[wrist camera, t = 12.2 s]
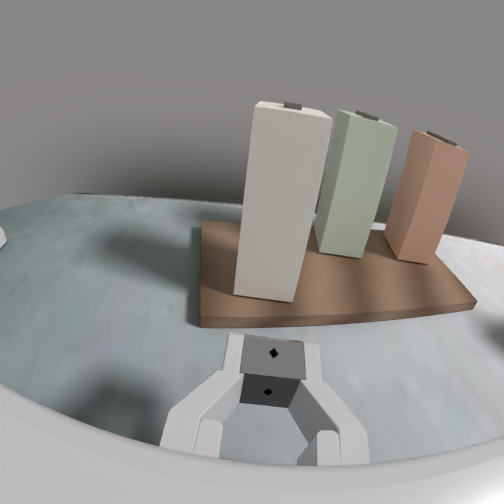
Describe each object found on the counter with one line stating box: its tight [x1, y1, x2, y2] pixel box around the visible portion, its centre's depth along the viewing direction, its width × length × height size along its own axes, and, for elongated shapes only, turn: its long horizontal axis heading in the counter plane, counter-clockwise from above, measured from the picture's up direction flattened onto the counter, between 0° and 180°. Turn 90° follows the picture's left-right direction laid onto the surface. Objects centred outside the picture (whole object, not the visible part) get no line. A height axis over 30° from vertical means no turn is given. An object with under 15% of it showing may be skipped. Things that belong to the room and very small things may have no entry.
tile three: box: [383, 129, 469, 264], centre depth 26 cm, size 5×4×12 cm
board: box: [200, 221, 477, 328], centre depth 26 cm, size 25×13×1 cm, turn 97°
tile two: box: [314, 110, 398, 258], centre depth 25 cm, size 5×4×12 cm
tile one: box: [234, 101, 333, 302], centre depth 19 cm, size 5×4×12 cm
